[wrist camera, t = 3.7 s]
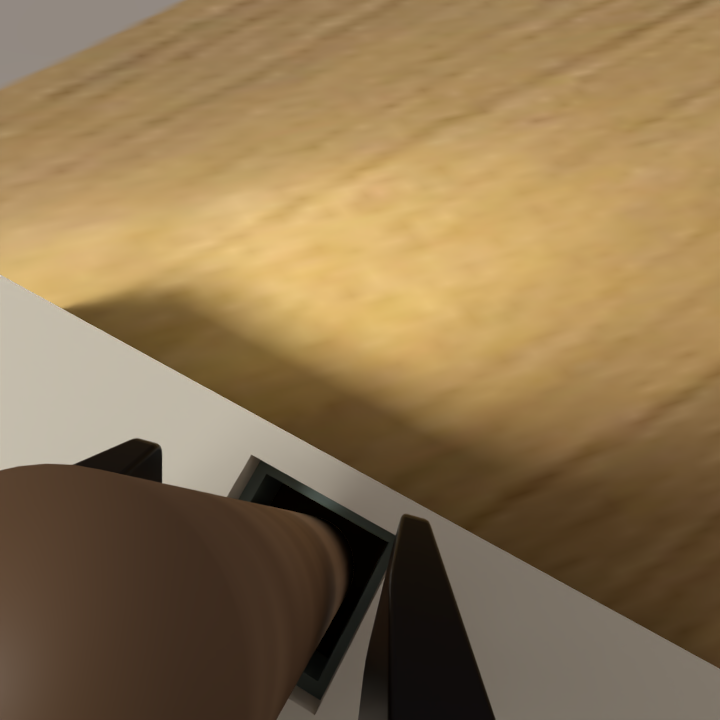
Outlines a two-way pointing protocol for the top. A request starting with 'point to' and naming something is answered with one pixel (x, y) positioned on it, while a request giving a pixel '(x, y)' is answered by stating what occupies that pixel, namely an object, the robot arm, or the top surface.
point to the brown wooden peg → (156, 598)
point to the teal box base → (322, 667)
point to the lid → (355, 492)
